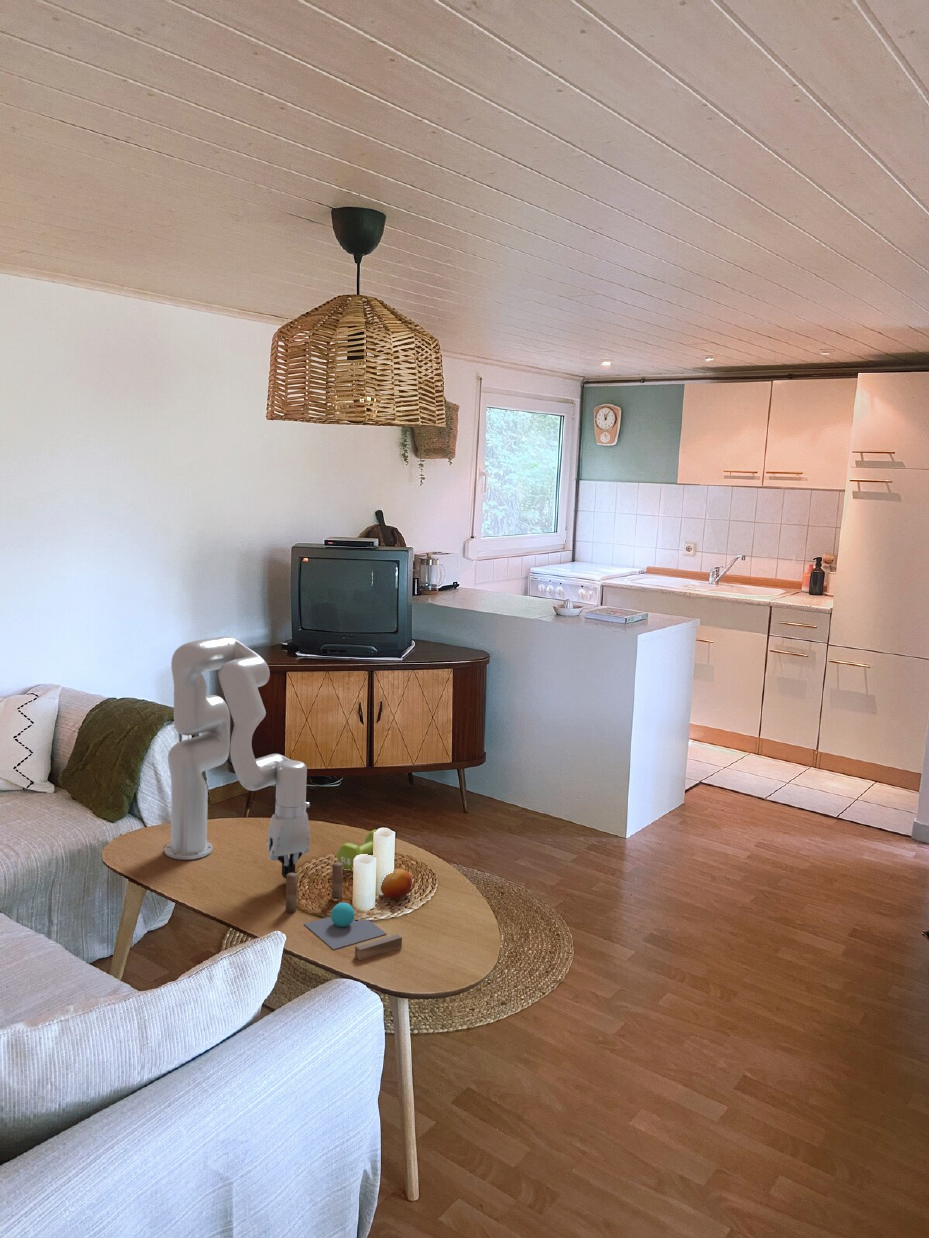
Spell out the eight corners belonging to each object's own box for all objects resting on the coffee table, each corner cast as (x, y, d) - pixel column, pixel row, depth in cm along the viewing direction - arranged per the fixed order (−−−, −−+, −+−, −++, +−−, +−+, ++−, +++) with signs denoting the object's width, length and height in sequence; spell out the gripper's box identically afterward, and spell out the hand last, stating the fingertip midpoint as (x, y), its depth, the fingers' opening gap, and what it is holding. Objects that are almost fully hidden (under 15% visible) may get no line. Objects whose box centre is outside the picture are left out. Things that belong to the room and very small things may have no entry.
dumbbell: (356, 876, 245) (357, 850, 244) (333, 868, 250) (334, 842, 249) (392, 857, 259) (394, 832, 258) (370, 850, 263) (371, 825, 262)
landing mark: (303, 924, 217) (303, 923, 217) (355, 910, 225) (355, 909, 225) (333, 949, 206) (333, 948, 206) (386, 934, 214) (386, 933, 214)
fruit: (414, 900, 230) (399, 871, 229) (387, 912, 231) (372, 883, 231) (422, 887, 237) (408, 859, 237) (396, 898, 239) (382, 871, 239)
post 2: (329, 897, 231) (330, 863, 230) (338, 895, 233) (339, 861, 232) (334, 901, 229) (336, 867, 228) (343, 899, 231) (345, 865, 230)
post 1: (283, 909, 224) (284, 874, 222) (293, 907, 225) (294, 871, 224) (288, 913, 222) (289, 878, 220) (298, 911, 223) (299, 875, 222)
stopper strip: (354, 956, 203) (355, 945, 203) (396, 943, 210) (397, 933, 210) (359, 960, 202) (359, 949, 202) (401, 947, 209) (402, 937, 208)
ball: (339, 931, 213) (328, 928, 217) (360, 925, 216) (348, 922, 220) (337, 906, 213) (325, 904, 218) (357, 901, 217) (345, 899, 221)
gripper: (309, 800, 243) (307, 866, 246) (256, 809, 234) (254, 878, 236) (323, 809, 237) (321, 877, 240) (269, 819, 228) (267, 889, 231)
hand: (288, 877), depth 238 cm, fingers closed
